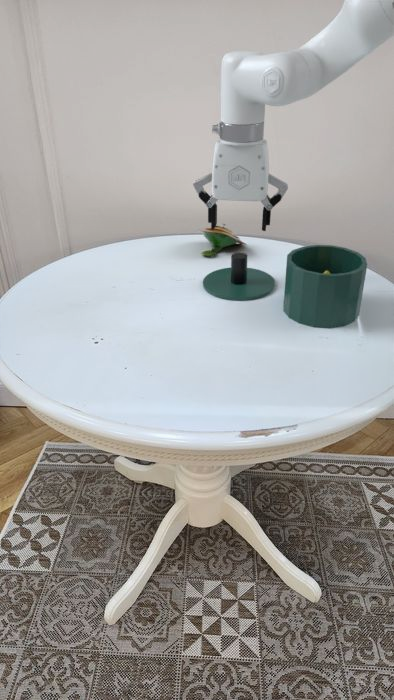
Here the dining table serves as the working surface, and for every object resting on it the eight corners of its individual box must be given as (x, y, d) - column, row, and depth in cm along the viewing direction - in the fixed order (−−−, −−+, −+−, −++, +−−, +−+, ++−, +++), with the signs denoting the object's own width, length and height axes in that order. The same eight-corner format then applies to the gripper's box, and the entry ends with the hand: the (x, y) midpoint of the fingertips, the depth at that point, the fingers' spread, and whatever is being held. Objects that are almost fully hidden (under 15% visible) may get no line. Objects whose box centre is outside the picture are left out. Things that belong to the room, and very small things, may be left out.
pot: (354, 297, 103) (362, 246, 98) (361, 333, 92) (370, 277, 86) (283, 294, 105) (287, 243, 100) (282, 328, 94) (286, 273, 88)
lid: (275, 273, 114) (277, 243, 110) (273, 305, 101) (275, 272, 98) (208, 270, 116) (207, 240, 112) (197, 301, 103) (196, 268, 100)
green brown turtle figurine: (247, 265, 117) (258, 227, 116) (189, 248, 116) (199, 210, 115) (237, 269, 132) (246, 235, 131) (185, 254, 130) (194, 220, 130)
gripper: (189, 136, 91) (191, 232, 100) (292, 138, 88) (284, 236, 98) (196, 127, 97) (197, 219, 106) (292, 129, 95) (284, 222, 104)
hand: (238, 227), depth 102 cm, fingers open, 9 cm apart
